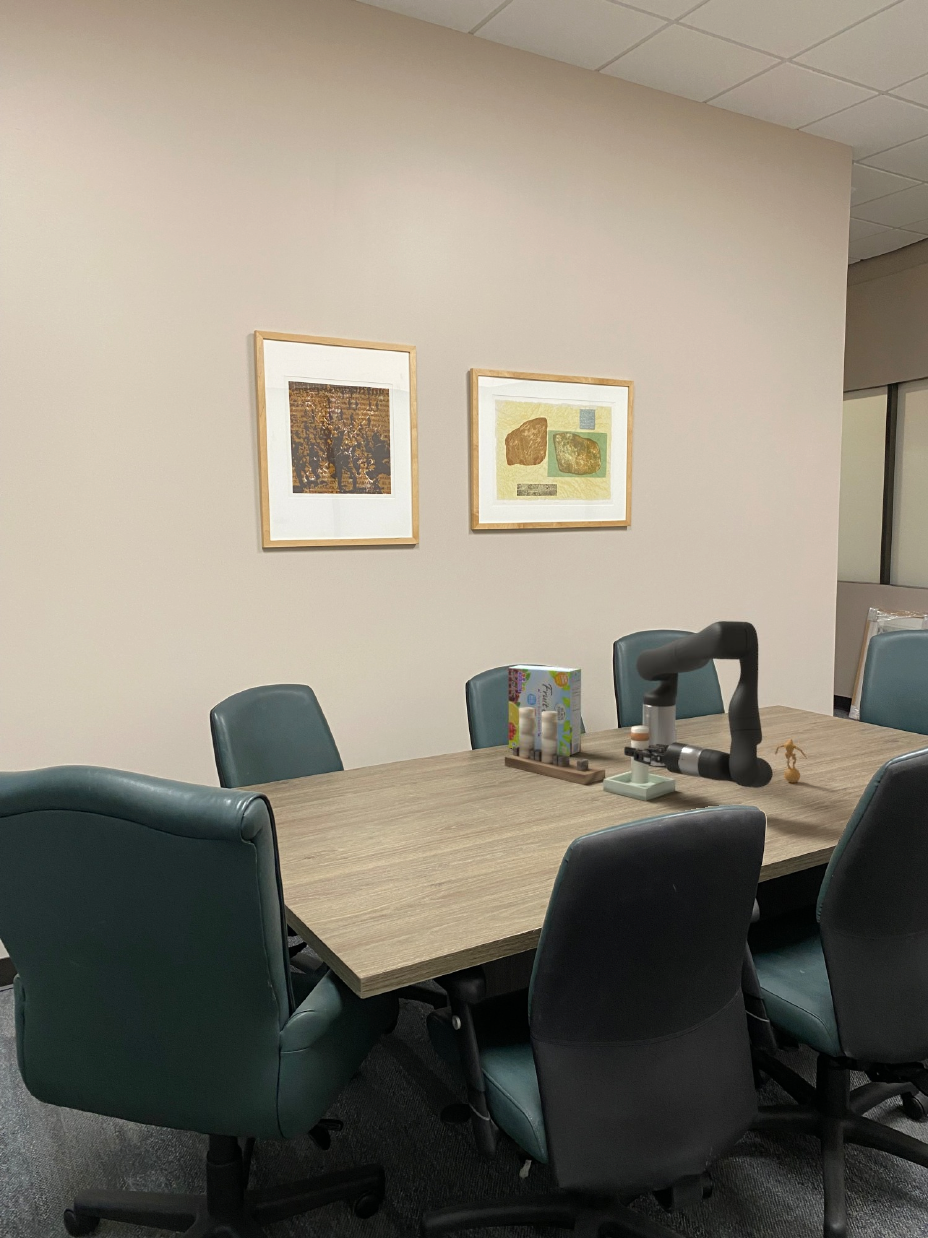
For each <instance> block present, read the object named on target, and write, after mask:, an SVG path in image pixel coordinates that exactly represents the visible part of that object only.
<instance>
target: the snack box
mask: <svg viewBox="0 0 928 1238" xmlns="http://www.w3.org/2000/svg"><path fill="white" fill-rule="evenodd" d="M507 677H508V749H510V748H513V747H514V746H519V708H522V707H532V708H535V749H541V750H542V712H544V711H555V712H557V754H564V755H569V756H572V755H575V754H578V753H579V752H581V751H582V735H581V734H582V728H581V727H582V668H570V667H558V666H546V665H545V666H543V665H542V666H540V665H524V664H523V665H522V664H521V665H520V664H519V665H515V666H509V667H508V676H507Z"/></svg>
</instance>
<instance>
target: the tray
mask: <svg viewBox="0 0 928 1238" xmlns="http://www.w3.org/2000/svg"><path fill="white" fill-rule="evenodd" d="M602 789H603V791H604V792H608V793H610V794H611V793H612V794H616V795H620V796H623V797H627V798H632V799H636V800H641V801H645V802H647V801H650V800H653V799H656V798H658V797H661V796H664V795H667V794H670V793H673V792H676V778H671V777H667V776H662V775H657V774H654V773H649V782H648V783H645V784H637V783H633V782H631V770H629V771H626V772H623V773H619V774H615V775H613V776H609V777H607V778H606V777H605V779H603V788H602Z"/></svg>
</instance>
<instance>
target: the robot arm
mask: <svg viewBox="0 0 928 1238" xmlns="http://www.w3.org/2000/svg"><path fill="white" fill-rule="evenodd" d="M711 660H732V661H734V660H739V666H740V675H739V680H738V682H737V685H736V688H735V690H734V692H733V694H732V697H731V699H730V701H729V703H728V708H727V709H728V710H727V711H728V712H727V716H728V717H727V719H728V724H729V725H728V726H729V732H730V737H731V738H730V739H731V740H730V746H729V753H728V752H724V751H720V750H717V749H711V748H706V747H702V746H699V745H693V744H688V743H683V742H678V741H677V734H678V733H677V729H676V711H677V710H676V708H677V707H676V701H677V697H678V696H677V695H678V683H679V674H681V673H684V674H685V673H691V672H694V671H698V670H700V669H703V668H704V667H705V666H707V664H708V663H709V662H710V661H711ZM635 666H636V671H637V674H638V676H639V677H640V678H642V680H644V681H648V682H657V681H658V682H659V684H658V685H656V687H655V688H654V687H653V689H651V690H648V691H646V692H645V693H644V694H643V696H642V726H646V727H649V748H646V749H639V748H632V747H631V746H624V749H623V750H624V752H623V754H624V756H628V757H630V758H631V757H634V760H635V761H638V762H641V763H644V764H647V765H649V766H653V767H665V768H666V770H667V771H668V772H670V773H673V774H678V775H682V776H687V777H692V778H704V779H708V780H713V781H719V782H722V781H724V782H731V783H735V784H736V785H738V786H740V787H744V788H755V789H758V788H763V787H765V786H767V785H768V784H769V783H770V782H771V781H772V778H773V769H772V766H771V765H770V763H769V762H768V761H767V760H765V759H764V758H763V757H762V758H761V757H758V755H757V754H758V745H760V744H761V743H762V742H763V732H762V725H761V717H760V711H759V710H760V708H759V695H758V694H759V638H758V633H757V630H756V627H755V626H754V625H753V624H752V623H750V622H748V621H737V620H736V621H733V620H732V621H731V620H729V621H728V620H720V621H715V622H713V623H711V624H709V625H708V626H706V627H705V628H703V629H702V630H700V631H699V632H695V633H692V634H689V635H686V636H685V635H684V636H683V637H680V638H677V639H676V640H673V641H670V642H668V643H666V644H664V645H662V646H659V647H656V648H647V649H644V650H642V651H641V652H640V653H639V655H638V657H637V659H636V664H635Z"/></svg>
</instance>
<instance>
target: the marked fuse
mask: <svg viewBox="0 0 928 1238" xmlns="http://www.w3.org/2000/svg"><path fill="white" fill-rule="evenodd" d="M630 741H631V743H630V744H631V745H630V747H632V748H639V749H646V748H649V727H646V726H643V725H634V726H631V729H630ZM649 768H650V765H647V764H644V763H641V762H638V761H635V760H634V757H631V756H630V771H631V782H633V783H637V784H645V783H648V782H649V774H650V773H649V770H650V769H649Z"/></svg>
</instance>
